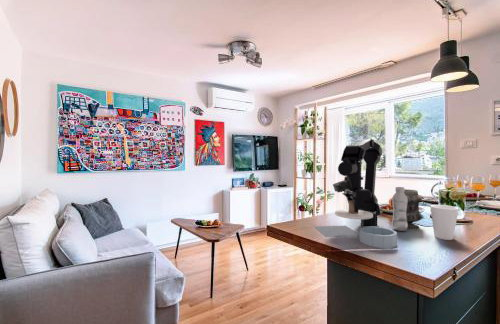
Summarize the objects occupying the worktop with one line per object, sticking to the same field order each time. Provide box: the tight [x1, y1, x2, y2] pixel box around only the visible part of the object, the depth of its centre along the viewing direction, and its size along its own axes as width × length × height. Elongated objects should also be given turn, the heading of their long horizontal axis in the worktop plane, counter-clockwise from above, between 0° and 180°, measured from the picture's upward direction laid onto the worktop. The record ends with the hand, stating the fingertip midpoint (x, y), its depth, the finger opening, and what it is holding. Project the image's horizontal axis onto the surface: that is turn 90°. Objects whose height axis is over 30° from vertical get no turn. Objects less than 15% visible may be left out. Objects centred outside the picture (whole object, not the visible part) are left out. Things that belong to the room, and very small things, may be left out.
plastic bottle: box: [391, 186, 408, 232], centre depth 118 cm, size 6×7×20 cm
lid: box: [334, 200, 373, 220], centre depth 109 cm, size 15×15×6 cm
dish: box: [359, 226, 398, 250], centre depth 101 cm, size 13×13×5 cm
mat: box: [313, 225, 360, 238], centre depth 116 cm, size 16×16×1 cm
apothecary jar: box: [404, 188, 423, 230], centre depth 125 cm, size 12×12×18 cm
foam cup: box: [430, 204, 459, 241], centre depth 108 cm, size 10×9×13 cm
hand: (353, 211), depth 109 cm, fingers closed on lid, 4 cm apart
